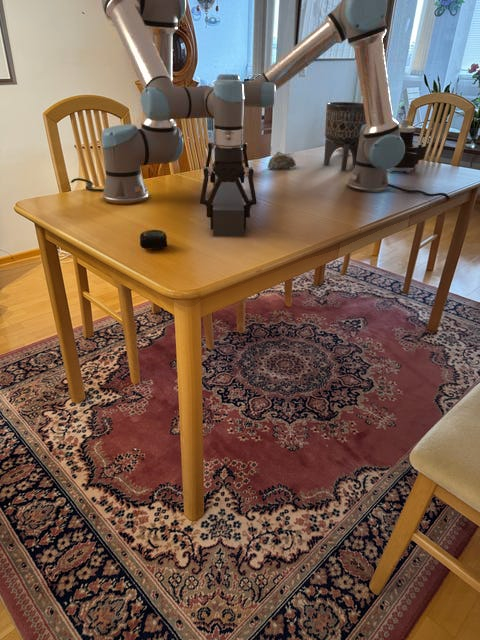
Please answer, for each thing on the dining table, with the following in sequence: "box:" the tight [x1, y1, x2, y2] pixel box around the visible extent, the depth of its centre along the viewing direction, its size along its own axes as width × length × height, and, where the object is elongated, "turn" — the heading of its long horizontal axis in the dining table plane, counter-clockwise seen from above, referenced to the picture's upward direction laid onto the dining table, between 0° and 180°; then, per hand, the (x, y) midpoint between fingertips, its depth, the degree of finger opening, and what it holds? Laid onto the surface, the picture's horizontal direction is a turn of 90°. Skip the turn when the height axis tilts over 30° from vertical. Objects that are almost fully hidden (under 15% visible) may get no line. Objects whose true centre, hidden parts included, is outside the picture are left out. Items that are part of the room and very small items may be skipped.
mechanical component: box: [387, 119, 428, 174], centre depth 205 cm, size 22×21×30 cm
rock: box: [267, 151, 297, 171], centre depth 203 cm, size 13×9×6 cm, turn 131°
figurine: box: [335, 147, 352, 156], centre depth 235 cm, size 8×15×13 cm, turn 145°
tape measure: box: [139, 229, 168, 250], centre depth 117 cm, size 7×7×4 cm
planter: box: [323, 101, 366, 172], centre depth 204 cm, size 20×20×26 cm
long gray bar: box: [212, 174, 245, 237], centre depth 147 cm, size 52×9×7 cm, turn 2°
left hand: (228, 228), depth 131 cm, fingers closed on long gray bar, 9 cm apart
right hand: (227, 191), depth 167 cm, fingers closed on long gray bar, 9 cm apart
